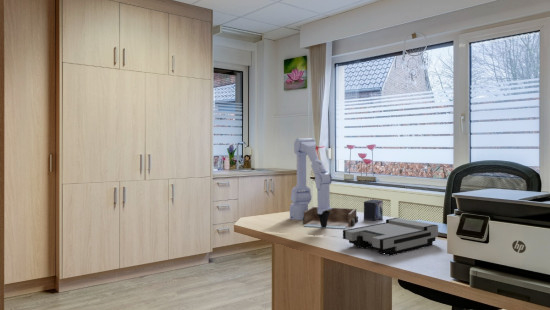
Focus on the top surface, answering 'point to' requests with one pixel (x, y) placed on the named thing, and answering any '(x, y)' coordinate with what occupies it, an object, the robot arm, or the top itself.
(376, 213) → the small box
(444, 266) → the top surface
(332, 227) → the tailgate
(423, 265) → the top surface
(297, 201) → the robot arm
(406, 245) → the game console
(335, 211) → the cart bed
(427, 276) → the top surface
